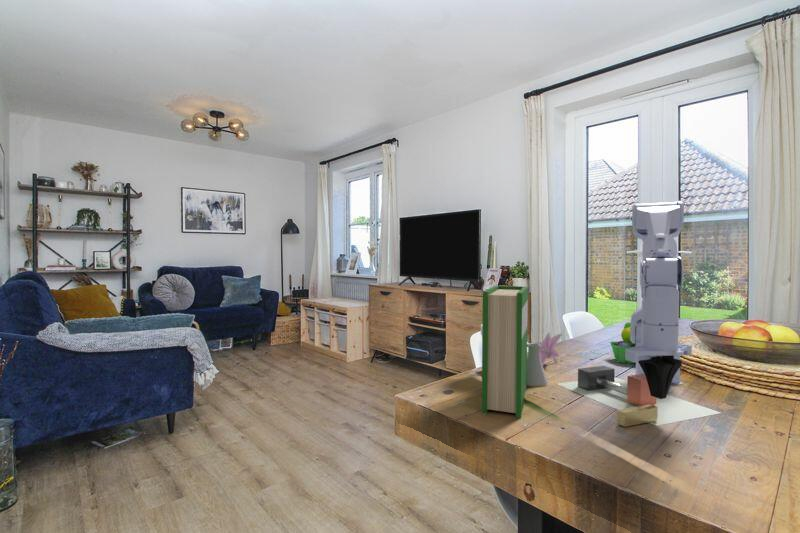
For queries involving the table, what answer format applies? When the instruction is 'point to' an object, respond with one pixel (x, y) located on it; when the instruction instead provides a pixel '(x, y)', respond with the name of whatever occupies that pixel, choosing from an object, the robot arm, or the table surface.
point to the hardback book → (504, 349)
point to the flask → (535, 366)
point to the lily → (548, 348)
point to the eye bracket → (594, 377)
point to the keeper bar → (637, 415)
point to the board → (667, 407)
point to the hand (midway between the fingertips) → (658, 396)
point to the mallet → (632, 389)
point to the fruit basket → (623, 344)
